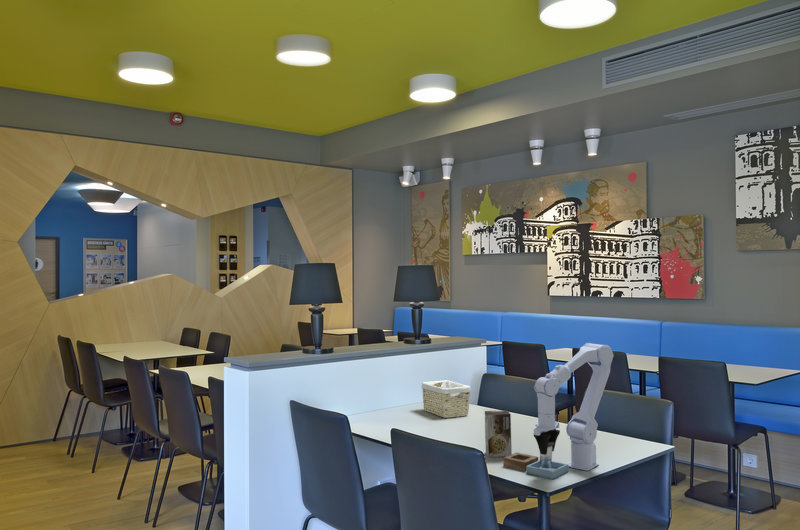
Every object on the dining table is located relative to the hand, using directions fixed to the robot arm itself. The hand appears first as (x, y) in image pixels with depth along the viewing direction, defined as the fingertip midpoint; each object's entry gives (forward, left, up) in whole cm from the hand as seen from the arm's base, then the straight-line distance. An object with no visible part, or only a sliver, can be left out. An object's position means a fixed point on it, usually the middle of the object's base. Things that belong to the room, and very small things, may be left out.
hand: (547, 452), depth 215 cm
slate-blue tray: (0, 0, -7) cm, 7 cm away
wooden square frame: (-1, -11, -7) cm, 13 cm away
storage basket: (-54, -85, -7) cm, 101 cm away
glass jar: (0, -1, -5) cm, 5 cm away
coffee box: (-8, -25, -7) cm, 27 cm away
